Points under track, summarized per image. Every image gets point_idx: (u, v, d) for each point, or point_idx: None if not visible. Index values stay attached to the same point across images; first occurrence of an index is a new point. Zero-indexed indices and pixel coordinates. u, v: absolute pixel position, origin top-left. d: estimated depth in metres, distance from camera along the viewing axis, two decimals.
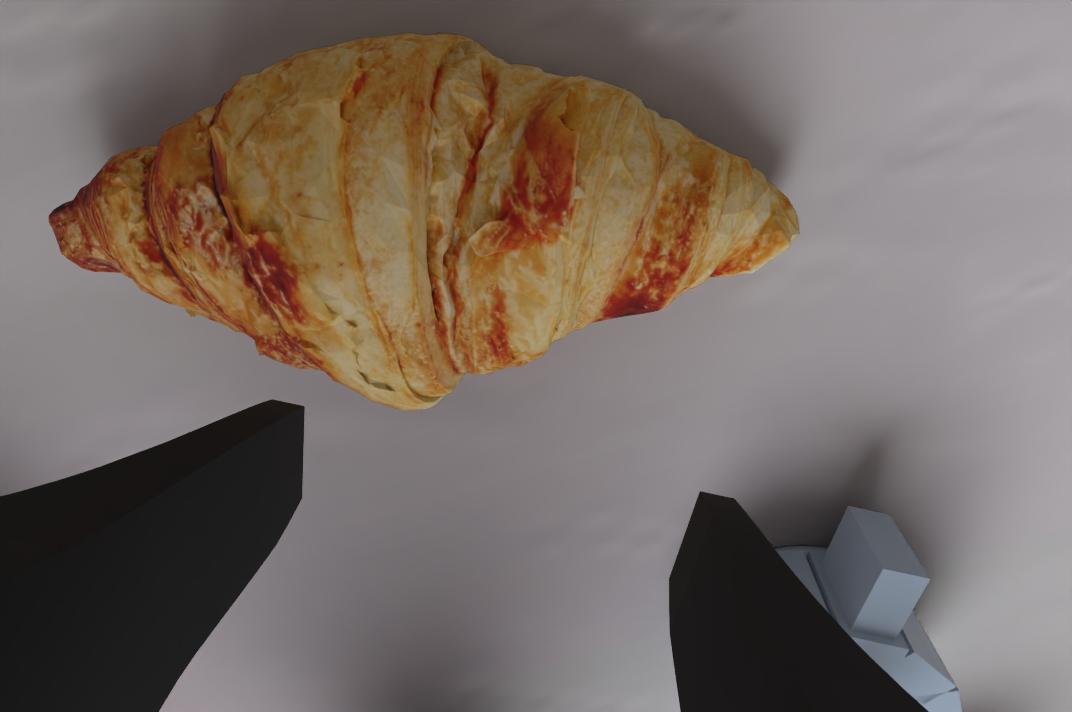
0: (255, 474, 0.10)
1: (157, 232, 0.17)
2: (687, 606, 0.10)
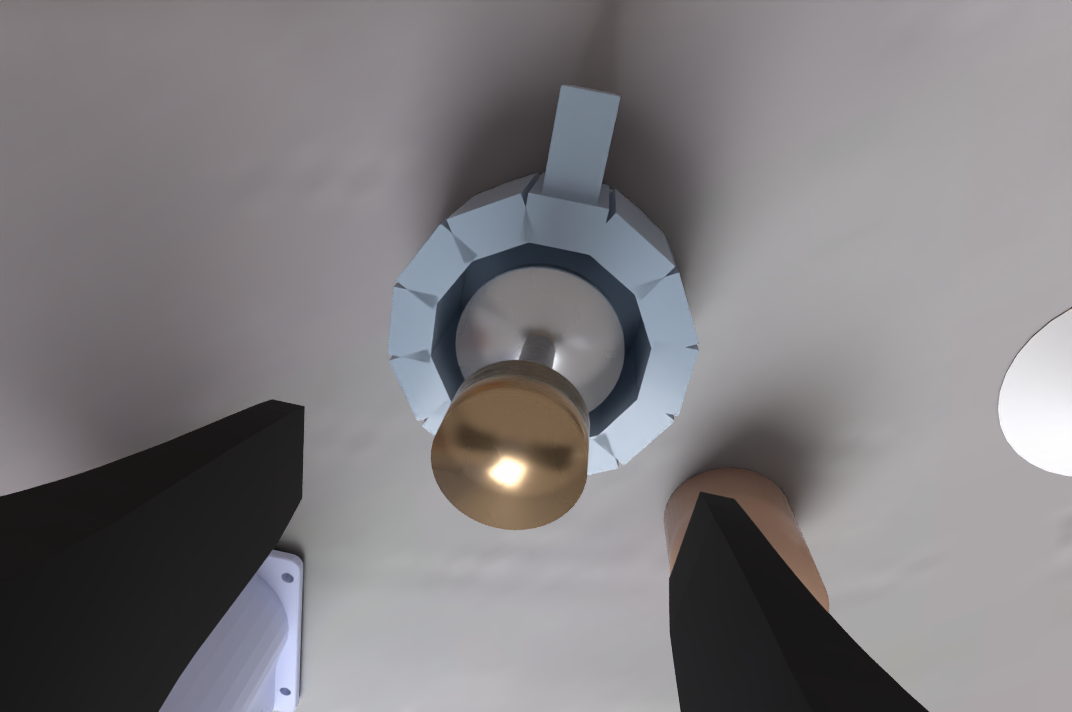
0: (255, 474, 0.10)
1: None
2: (687, 606, 0.10)
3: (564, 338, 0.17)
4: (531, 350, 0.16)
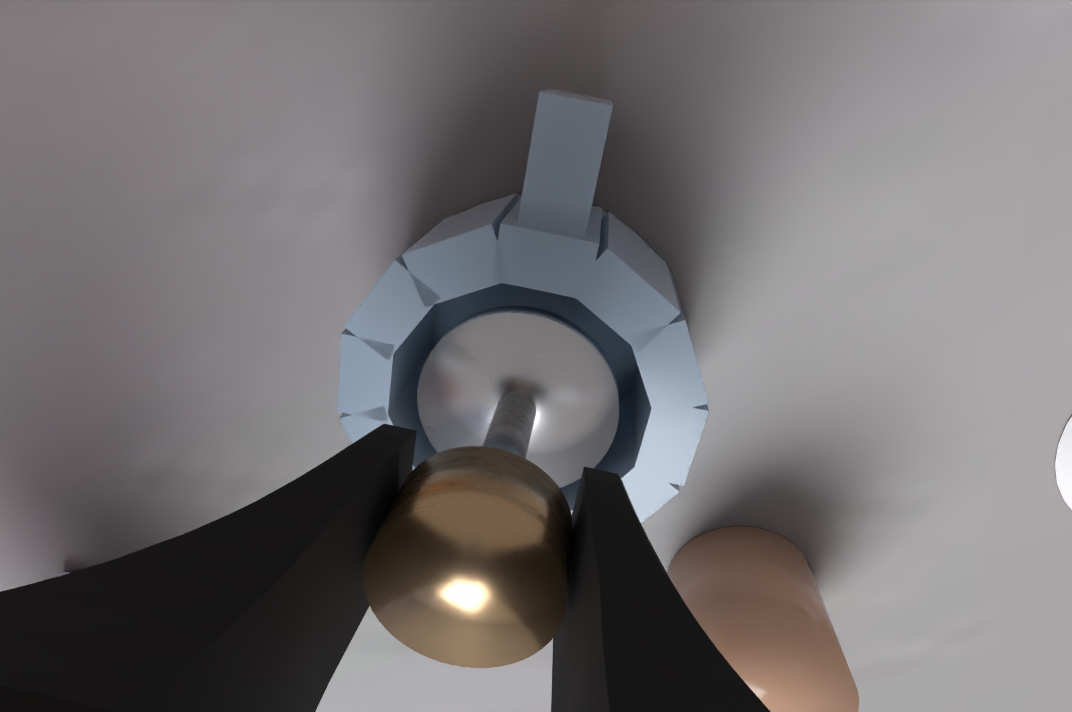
0: (382, 502, 0.10)
1: None
2: None
3: (547, 395, 0.14)
4: (505, 414, 0.13)
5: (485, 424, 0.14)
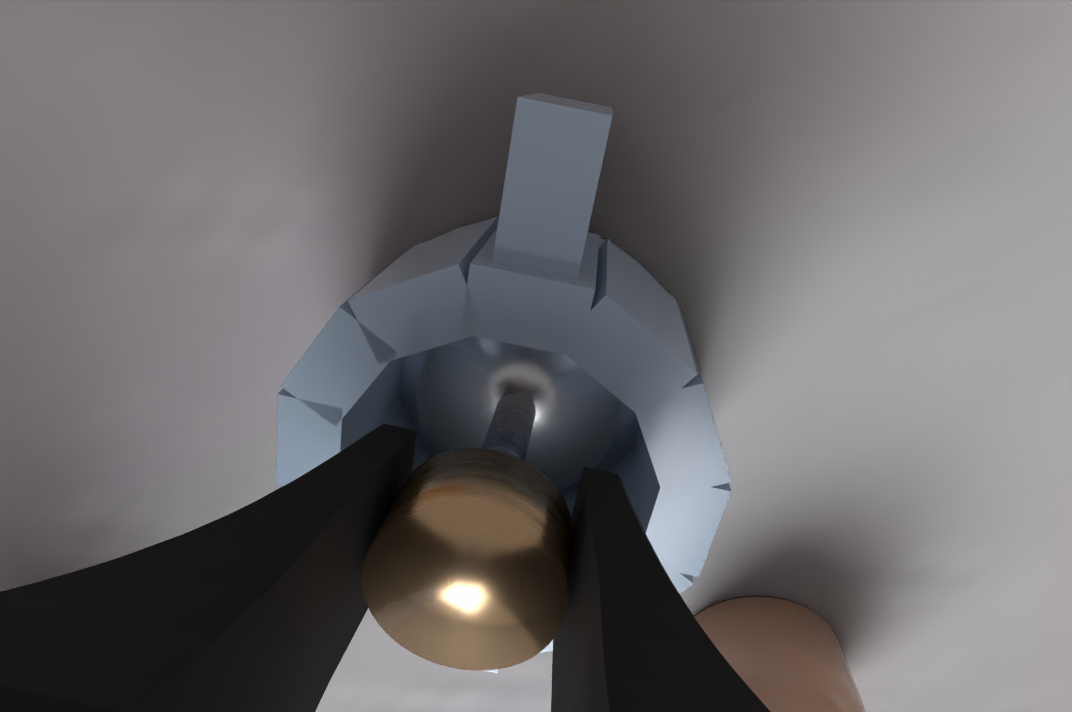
0: (382, 502, 0.10)
1: None
2: None
3: (546, 396, 0.14)
4: (504, 415, 0.13)
5: (484, 426, 0.14)
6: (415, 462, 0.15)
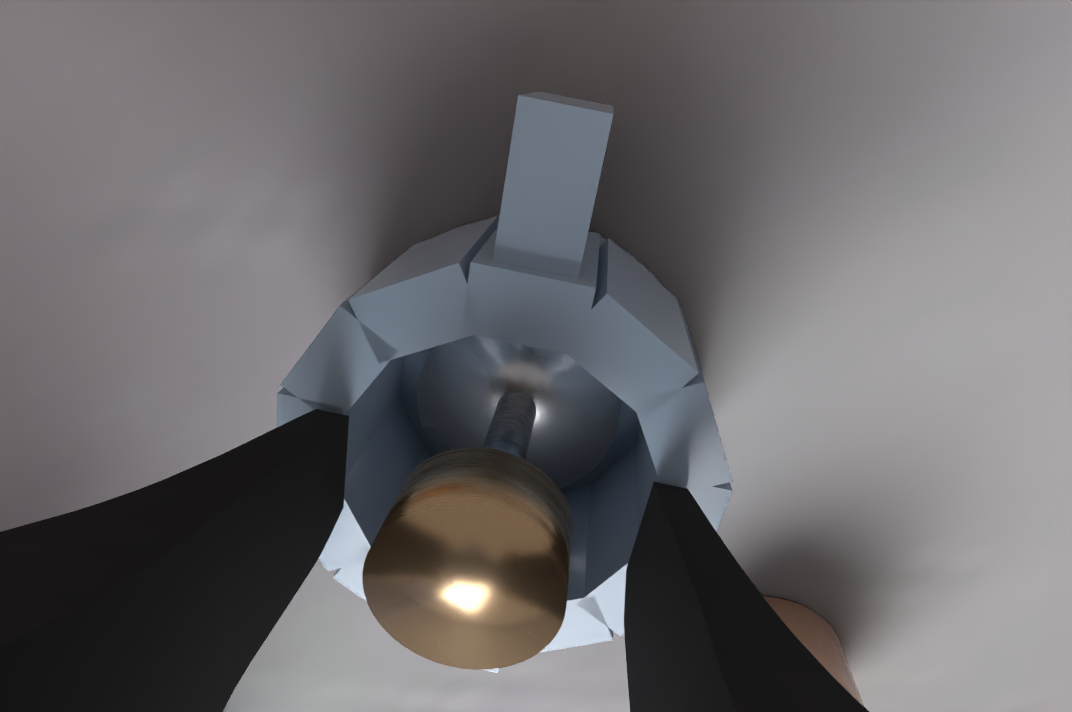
0: (305, 485, 0.10)
1: None
2: (638, 595, 0.10)
3: (547, 395, 0.14)
4: (504, 414, 0.13)
5: (484, 425, 0.14)
6: (415, 461, 0.15)
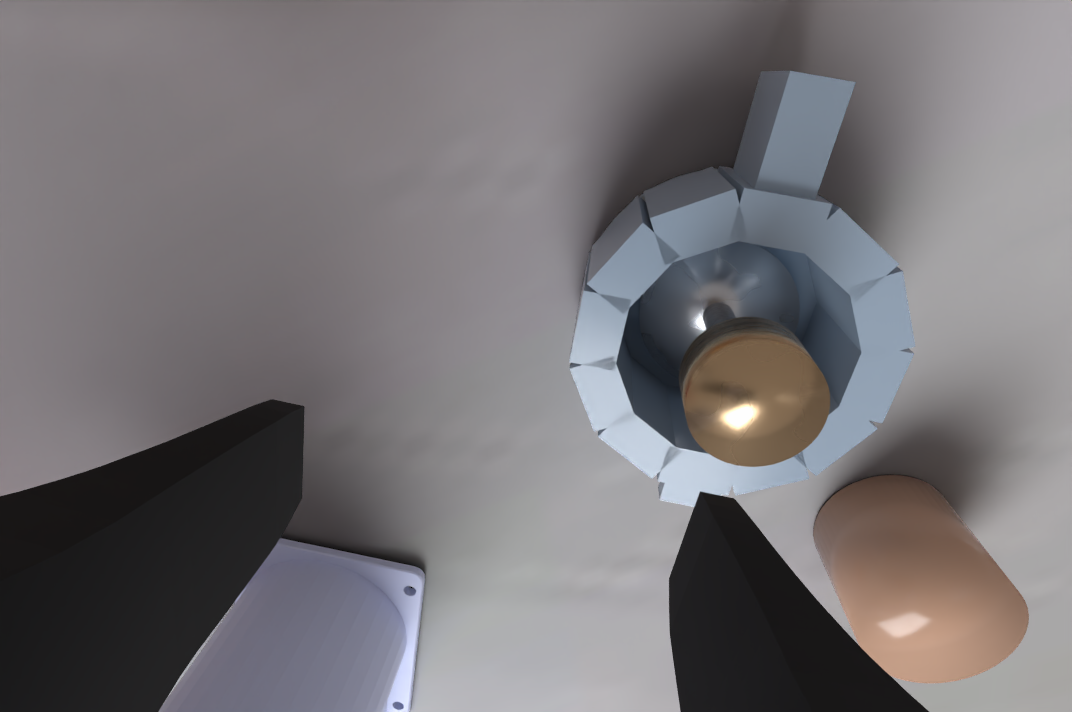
0: (255, 474, 0.10)
1: None
2: (687, 606, 0.10)
3: (743, 305, 0.18)
4: (721, 315, 0.18)
5: (691, 330, 0.19)
6: (629, 363, 0.20)
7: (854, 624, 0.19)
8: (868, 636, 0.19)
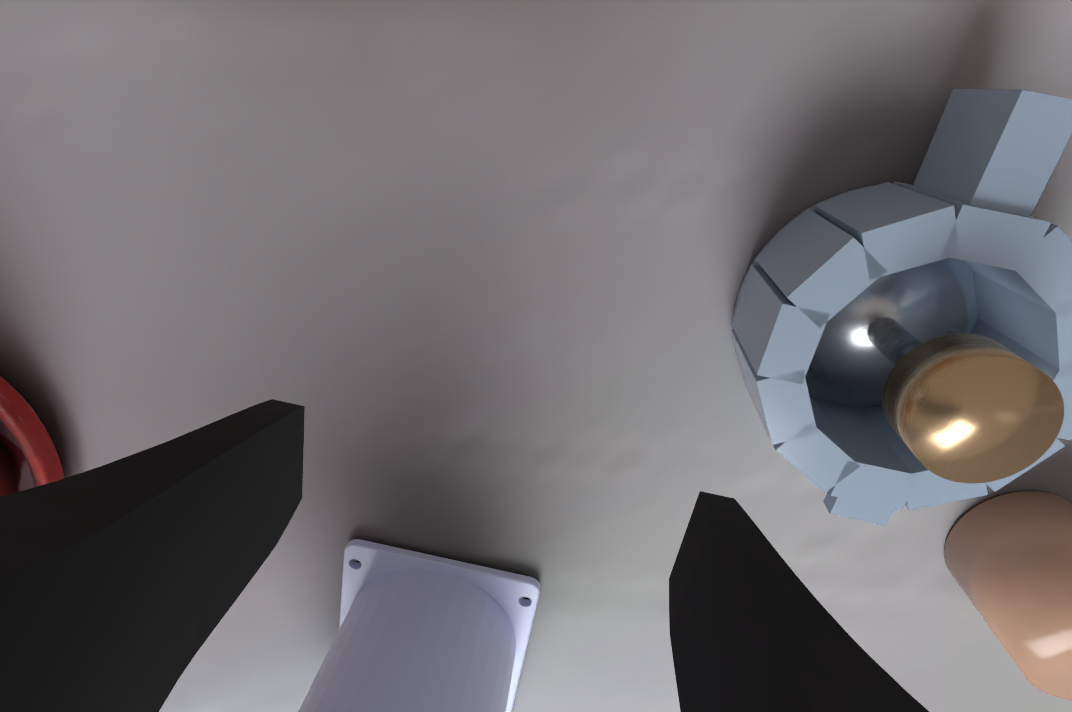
0: (255, 474, 0.10)
1: None
2: (687, 606, 0.10)
3: (910, 320, 0.18)
4: (897, 330, 0.18)
5: (853, 344, 0.19)
6: None
7: (1013, 643, 0.19)
8: (1029, 655, 0.19)
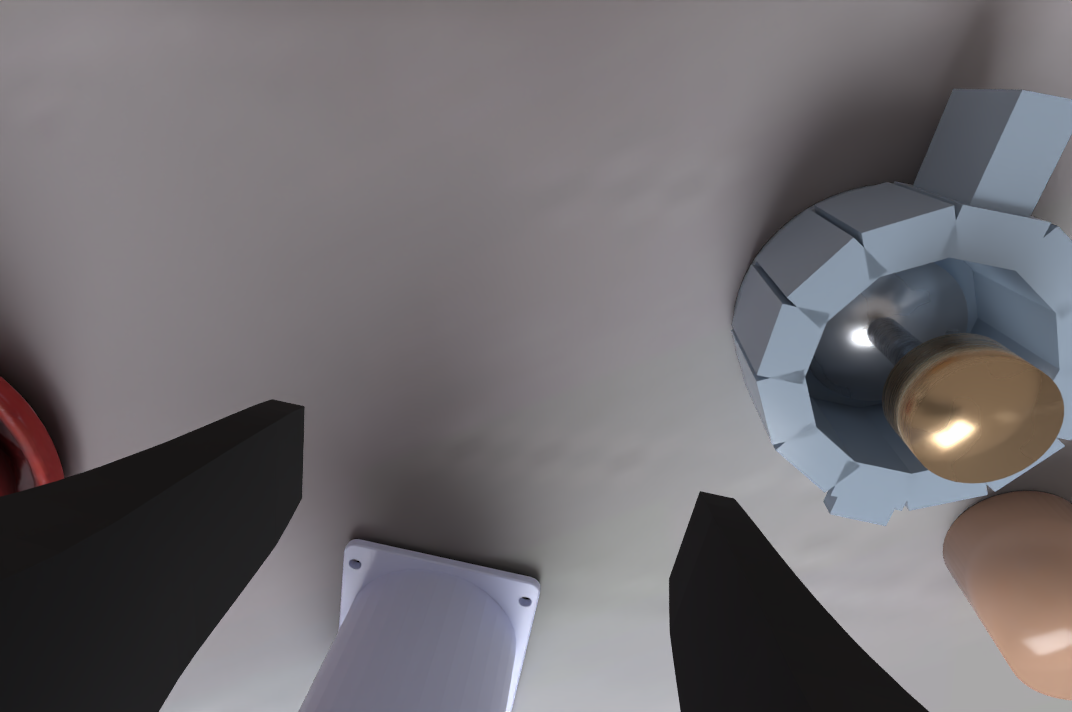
0: (255, 474, 0.10)
1: None
2: (687, 606, 0.10)
3: (910, 320, 0.18)
4: (897, 330, 0.18)
5: (853, 344, 0.19)
6: None
7: (1002, 641, 0.19)
8: (1018, 653, 0.19)
